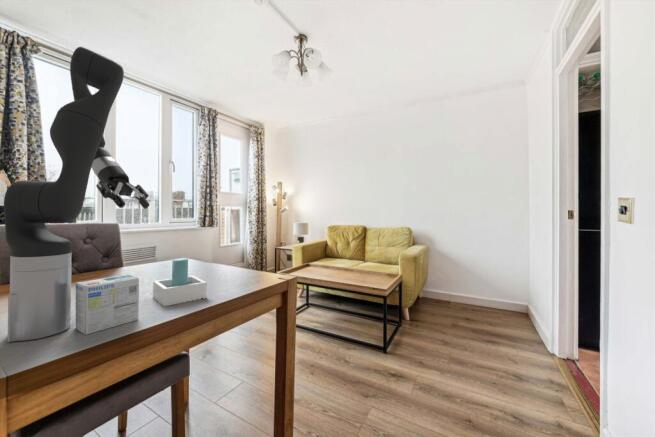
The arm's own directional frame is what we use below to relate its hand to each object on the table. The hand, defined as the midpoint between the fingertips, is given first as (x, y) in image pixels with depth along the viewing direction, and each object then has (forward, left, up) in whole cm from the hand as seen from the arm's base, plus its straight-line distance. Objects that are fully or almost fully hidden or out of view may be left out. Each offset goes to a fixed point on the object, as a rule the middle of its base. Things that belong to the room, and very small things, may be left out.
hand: (135, 206), depth 89 cm
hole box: (+9, -16, -29) cm, 34 cm away
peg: (+9, -16, -29) cm, 34 cm away
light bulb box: (-10, -27, -29) cm, 41 cm away
